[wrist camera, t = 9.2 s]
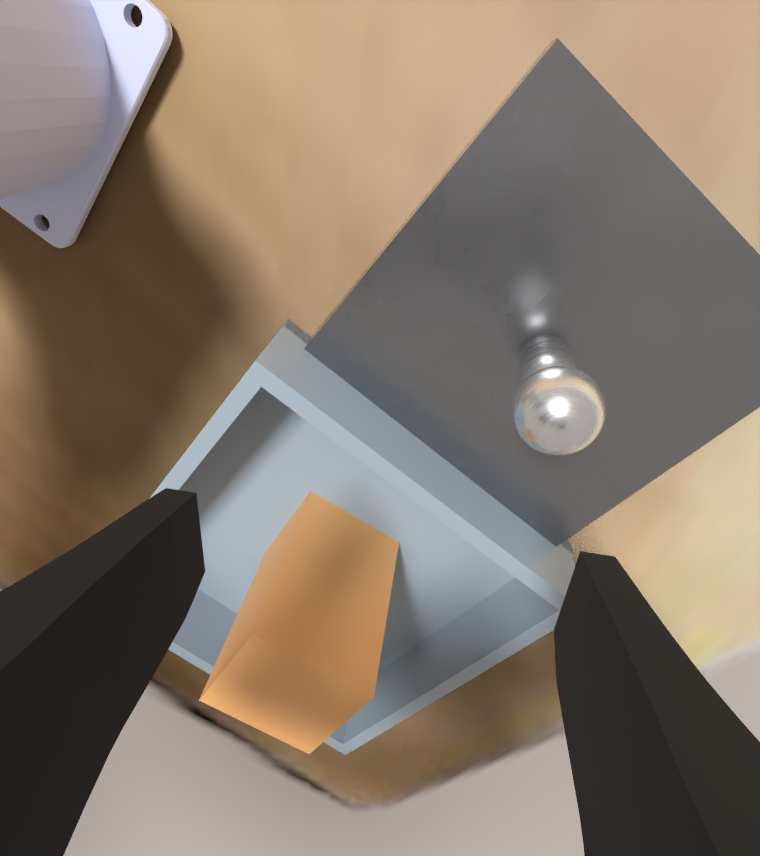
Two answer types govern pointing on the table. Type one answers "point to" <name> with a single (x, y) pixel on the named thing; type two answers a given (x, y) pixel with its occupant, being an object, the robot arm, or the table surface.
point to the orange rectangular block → (308, 628)
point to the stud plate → (557, 309)
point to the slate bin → (378, 507)
